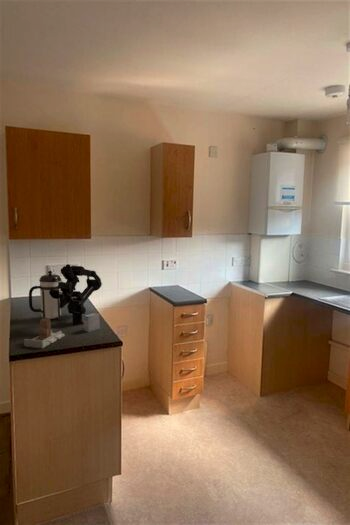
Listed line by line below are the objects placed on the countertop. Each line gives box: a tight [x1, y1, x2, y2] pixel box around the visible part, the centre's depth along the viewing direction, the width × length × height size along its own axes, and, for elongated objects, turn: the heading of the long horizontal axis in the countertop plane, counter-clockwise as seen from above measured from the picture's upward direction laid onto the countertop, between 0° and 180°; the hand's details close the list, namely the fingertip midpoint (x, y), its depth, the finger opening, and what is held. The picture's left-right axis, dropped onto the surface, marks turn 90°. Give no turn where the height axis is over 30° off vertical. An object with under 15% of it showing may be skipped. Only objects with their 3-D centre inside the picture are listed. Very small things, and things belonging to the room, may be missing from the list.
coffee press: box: [28, 270, 64, 321], centre depth 231 cm, size 17×16×30 cm
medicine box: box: [83, 312, 101, 333], centre depth 212 cm, size 8×4×9 cm, turn 141°
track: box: [23, 329, 65, 349], centre depth 194 cm, size 20×10×4 cm, turn 165°
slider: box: [38, 318, 52, 340], centre depth 193 cm, size 4×4×10 cm
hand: (60, 307), depth 206 cm, fingers closed
